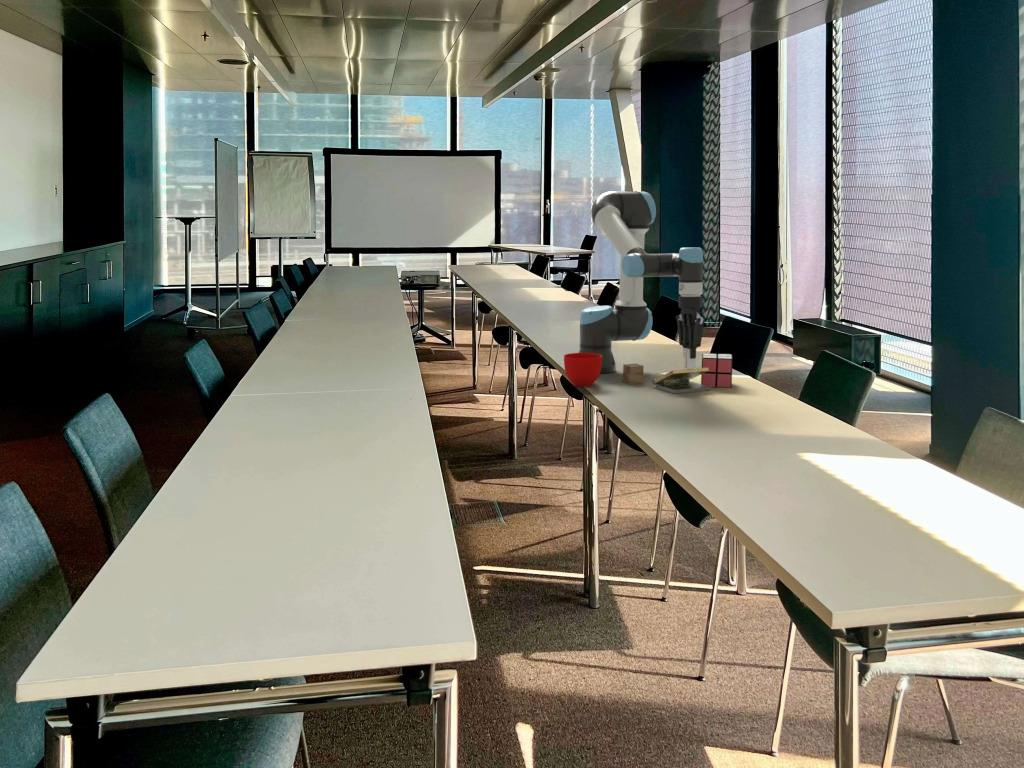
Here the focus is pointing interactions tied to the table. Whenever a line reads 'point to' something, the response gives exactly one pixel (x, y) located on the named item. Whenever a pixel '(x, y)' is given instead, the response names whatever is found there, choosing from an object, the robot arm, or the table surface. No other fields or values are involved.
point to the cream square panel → (681, 375)
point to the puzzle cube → (717, 370)
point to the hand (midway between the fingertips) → (689, 367)
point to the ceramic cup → (582, 368)
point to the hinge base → (680, 386)
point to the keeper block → (633, 373)
